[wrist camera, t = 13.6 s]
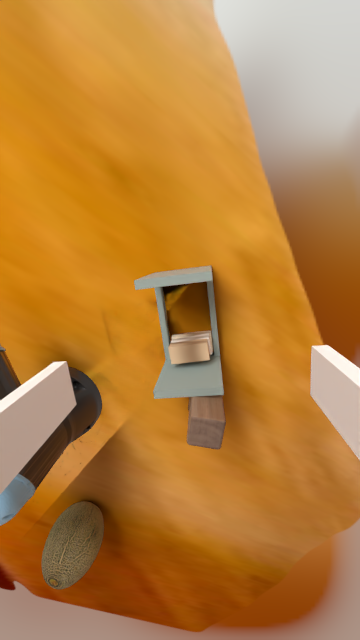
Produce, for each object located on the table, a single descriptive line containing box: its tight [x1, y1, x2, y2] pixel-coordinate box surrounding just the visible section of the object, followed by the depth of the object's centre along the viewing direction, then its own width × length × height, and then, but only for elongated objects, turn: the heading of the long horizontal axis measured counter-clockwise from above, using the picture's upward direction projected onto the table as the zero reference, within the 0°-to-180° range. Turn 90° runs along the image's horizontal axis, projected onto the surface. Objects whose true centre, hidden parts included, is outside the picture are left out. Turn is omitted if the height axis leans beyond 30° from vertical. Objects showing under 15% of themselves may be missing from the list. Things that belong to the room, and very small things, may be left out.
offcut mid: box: [171, 333, 212, 355], centre depth 45 cm, size 7×3×2 cm, turn 103°
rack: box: [134, 266, 224, 399], centre depth 40 cm, size 10×17×13 cm, turn 8°
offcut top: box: [168, 338, 210, 364], centre depth 42 cm, size 6×3×2 cm, turn 100°
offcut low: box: [172, 330, 213, 351], centre depth 47 cm, size 7×3×2 cm, turn 98°
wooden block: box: [187, 395, 226, 449], centre depth 41 cm, size 9×4×18 cm, turn 173°
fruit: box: [42, 501, 104, 589], centre depth 55 cm, size 11×11×15 cm
